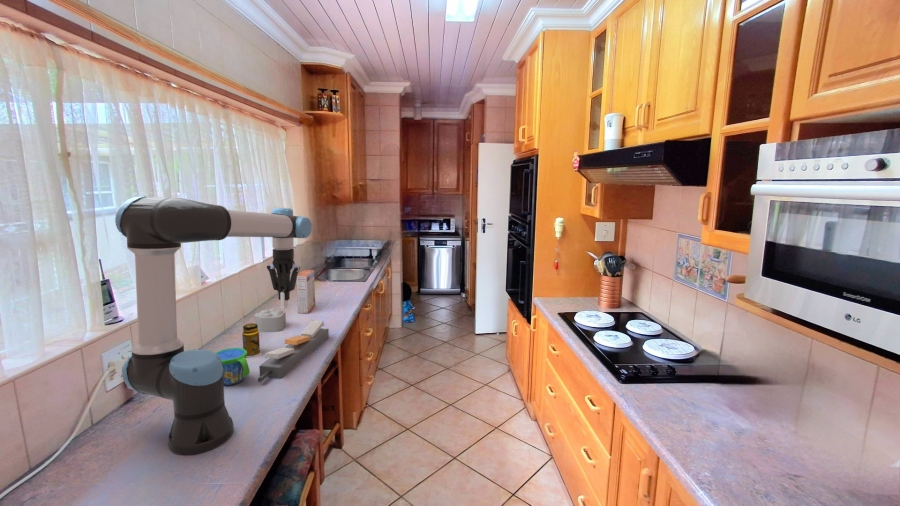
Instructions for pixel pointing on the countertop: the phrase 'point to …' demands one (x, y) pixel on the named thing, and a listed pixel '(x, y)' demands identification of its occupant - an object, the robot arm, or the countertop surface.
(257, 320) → the lumpy-topped squat cylinder
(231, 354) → the snack cup
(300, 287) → the cracker box
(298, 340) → the rocker
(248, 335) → the condiment
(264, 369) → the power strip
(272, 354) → the rocker
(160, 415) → the countertop surface
